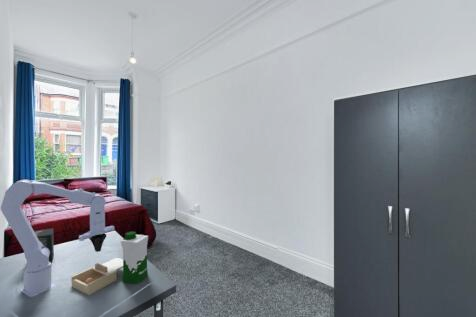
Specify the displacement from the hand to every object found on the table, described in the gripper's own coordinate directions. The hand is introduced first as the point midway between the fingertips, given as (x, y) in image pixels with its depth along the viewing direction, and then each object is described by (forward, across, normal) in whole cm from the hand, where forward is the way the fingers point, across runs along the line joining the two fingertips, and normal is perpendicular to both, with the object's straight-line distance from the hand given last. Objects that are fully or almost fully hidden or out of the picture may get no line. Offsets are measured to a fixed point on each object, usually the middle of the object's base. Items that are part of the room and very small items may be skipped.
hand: (97, 250), depth 98 cm
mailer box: (+10, -6, -8) cm, 14 cm away
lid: (+6, +2, -8) cm, 10 cm away
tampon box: (+10, -7, +36) cm, 38 cm away
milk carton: (+10, +4, -20) cm, 23 cm away
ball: (+9, -8, -8) cm, 15 cm away
